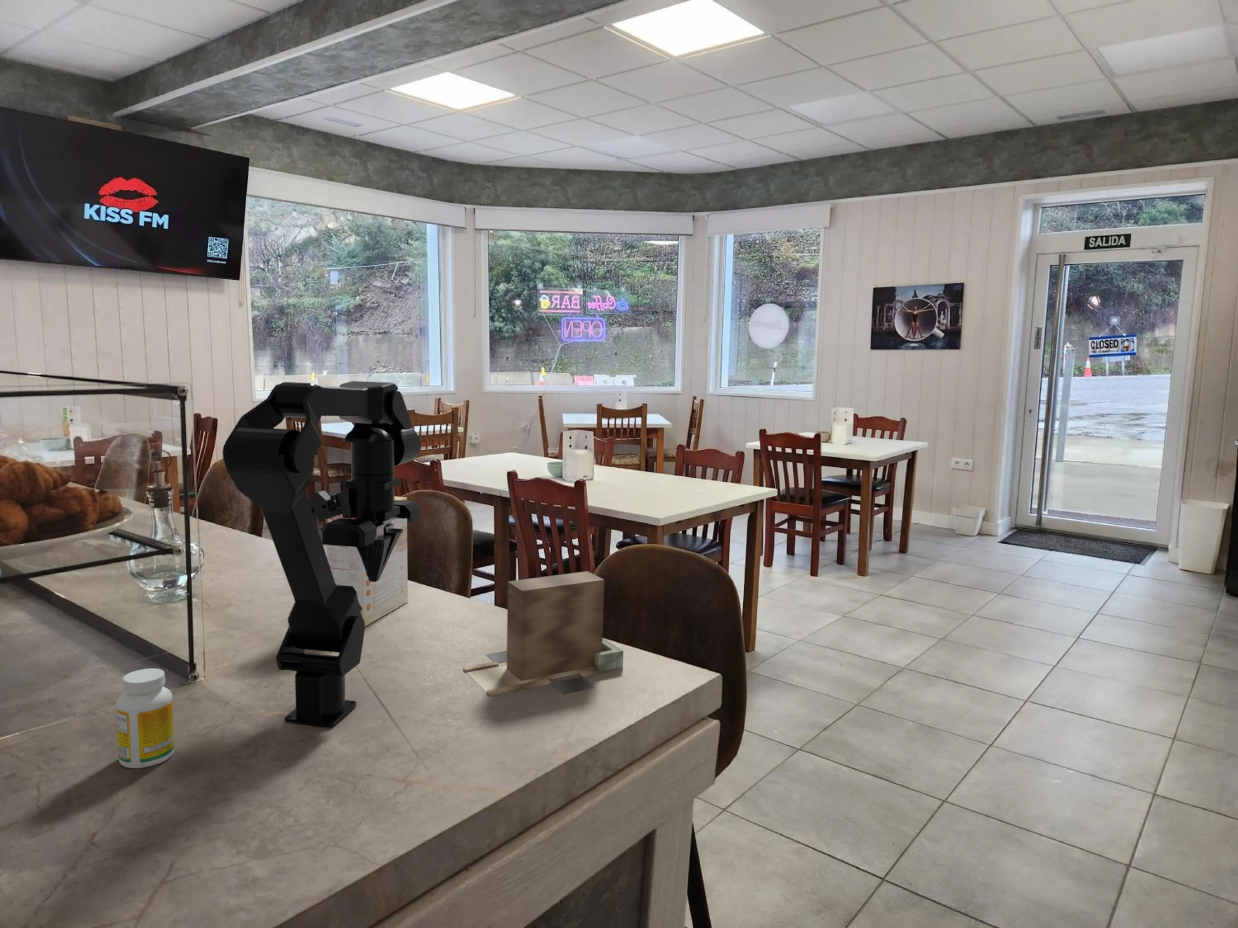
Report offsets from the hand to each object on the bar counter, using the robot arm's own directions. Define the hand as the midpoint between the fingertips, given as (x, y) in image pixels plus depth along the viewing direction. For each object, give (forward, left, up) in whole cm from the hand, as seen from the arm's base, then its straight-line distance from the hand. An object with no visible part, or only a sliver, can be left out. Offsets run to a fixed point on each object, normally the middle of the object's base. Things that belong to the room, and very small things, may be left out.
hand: (374, 581), depth 115 cm
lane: (+5, -23, -13) cm, 27 cm away
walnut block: (+6, -25, -13) cm, 29 cm away
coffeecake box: (+23, +12, -13) cm, 29 cm away
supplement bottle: (-29, +13, -13) cm, 34 cm away
